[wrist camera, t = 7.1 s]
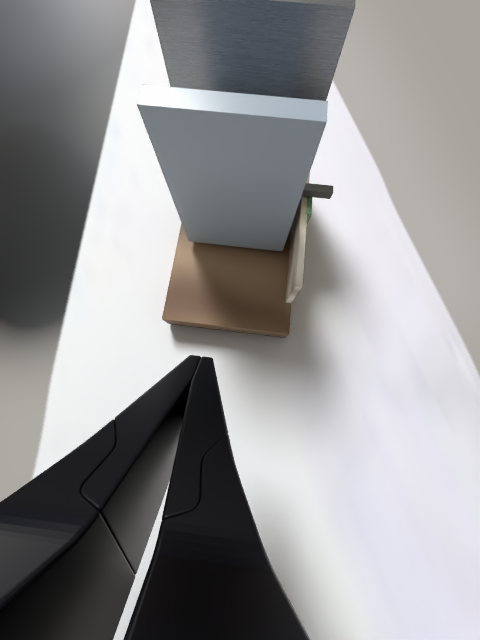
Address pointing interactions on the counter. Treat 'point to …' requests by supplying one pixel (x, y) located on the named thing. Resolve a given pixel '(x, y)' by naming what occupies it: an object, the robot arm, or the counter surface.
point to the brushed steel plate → (253, 44)
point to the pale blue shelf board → (235, 160)
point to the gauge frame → (238, 282)
